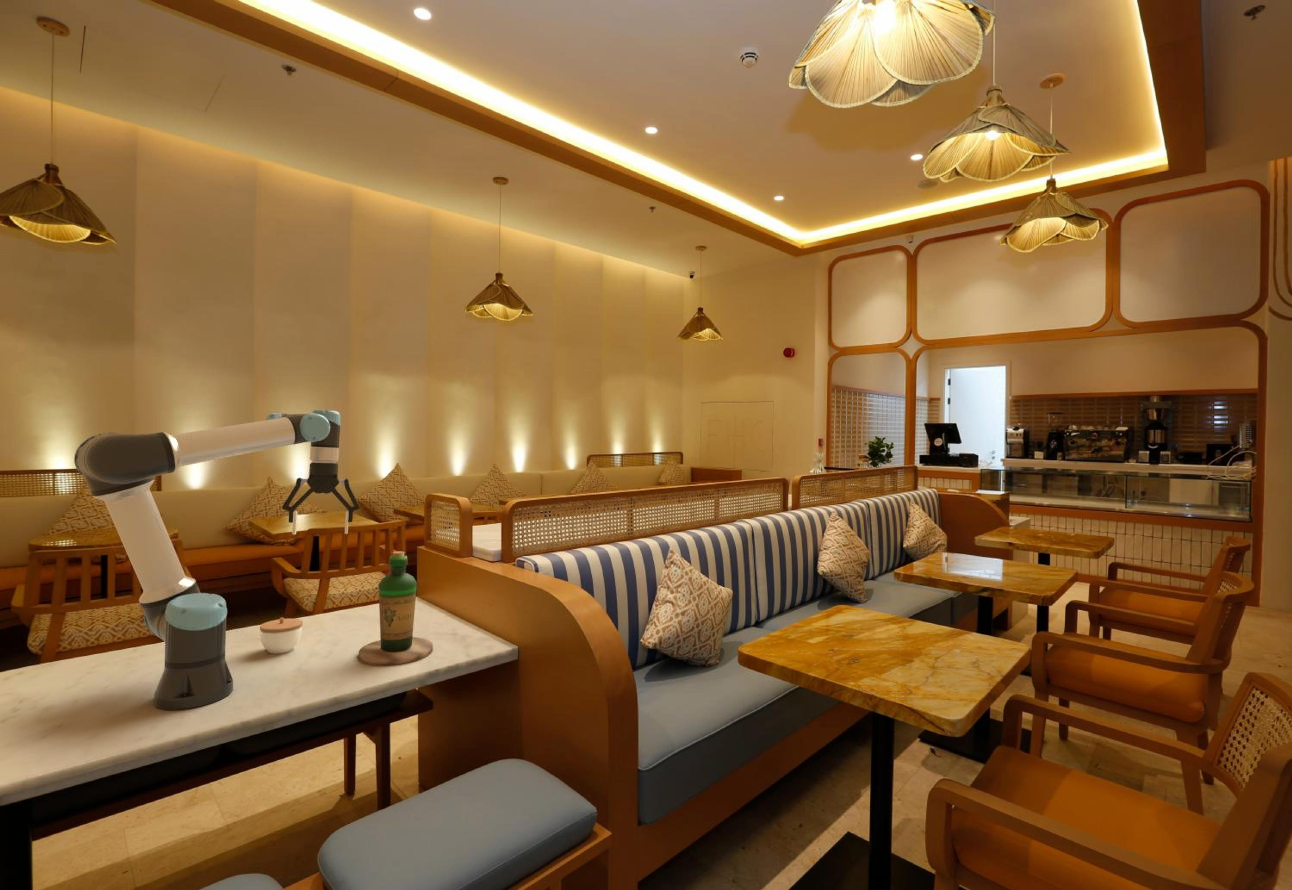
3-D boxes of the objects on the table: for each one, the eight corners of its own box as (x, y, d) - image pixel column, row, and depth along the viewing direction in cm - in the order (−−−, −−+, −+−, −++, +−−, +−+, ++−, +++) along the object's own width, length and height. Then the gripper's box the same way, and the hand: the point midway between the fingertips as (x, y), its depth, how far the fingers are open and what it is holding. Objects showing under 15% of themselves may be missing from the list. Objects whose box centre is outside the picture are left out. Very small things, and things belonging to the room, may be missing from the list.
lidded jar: (287, 657, 171) (288, 624, 171) (250, 655, 171) (251, 622, 171) (309, 644, 181) (310, 613, 181) (274, 643, 182) (275, 612, 182)
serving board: (394, 670, 163) (394, 664, 163) (342, 657, 171) (342, 652, 171) (447, 648, 181) (447, 643, 181) (398, 637, 189) (398, 633, 189)
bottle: (382, 656, 168) (384, 557, 168) (372, 646, 177) (374, 551, 177) (420, 649, 175) (423, 553, 175) (409, 639, 183) (411, 548, 183)
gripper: (370, 463, 187) (367, 531, 187) (277, 460, 177) (273, 532, 176) (370, 463, 180) (366, 534, 180) (273, 460, 170) (269, 536, 169)
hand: (320, 533), depth 178 cm, fingers open, 13 cm apart
